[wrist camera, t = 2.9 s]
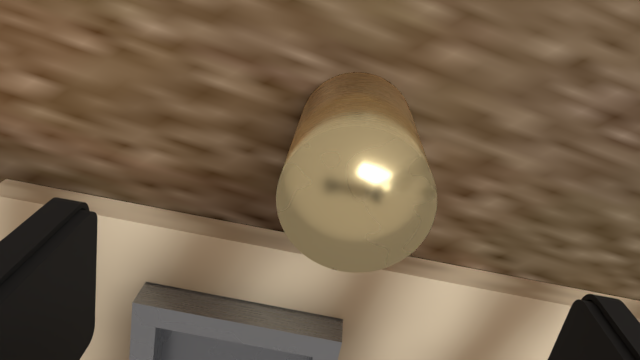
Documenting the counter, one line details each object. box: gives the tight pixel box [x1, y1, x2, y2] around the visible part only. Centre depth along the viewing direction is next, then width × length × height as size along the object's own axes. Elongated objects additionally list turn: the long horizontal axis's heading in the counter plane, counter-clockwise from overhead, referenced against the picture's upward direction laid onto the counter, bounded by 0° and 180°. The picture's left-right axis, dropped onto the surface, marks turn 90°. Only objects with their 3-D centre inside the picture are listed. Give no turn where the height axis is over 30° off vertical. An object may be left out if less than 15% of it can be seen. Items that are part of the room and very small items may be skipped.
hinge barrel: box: [276, 72, 437, 273], centre depth 18 cm, size 4×4×7 cm
